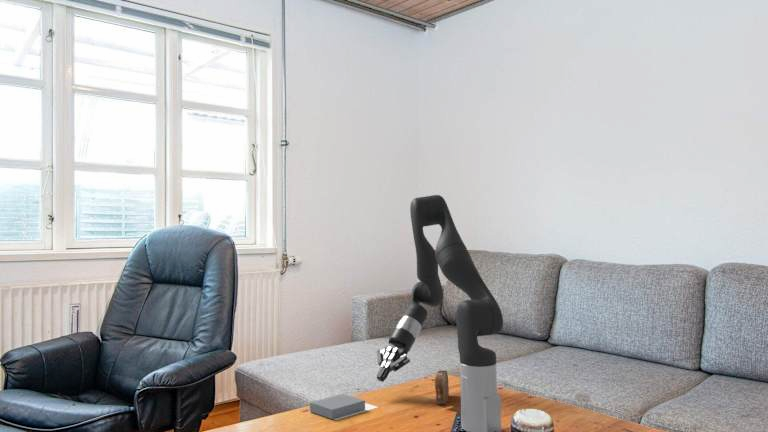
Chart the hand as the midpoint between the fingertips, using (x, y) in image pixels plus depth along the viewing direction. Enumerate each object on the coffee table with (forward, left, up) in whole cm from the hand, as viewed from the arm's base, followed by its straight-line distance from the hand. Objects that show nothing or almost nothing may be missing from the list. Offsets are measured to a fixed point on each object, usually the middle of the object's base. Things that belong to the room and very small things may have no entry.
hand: (379, 379), depth 169 cm
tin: (-14, -13, -7) cm, 20 cm away
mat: (0, +14, -6) cm, 15 cm away
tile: (0, +10, -4) cm, 11 cm away
